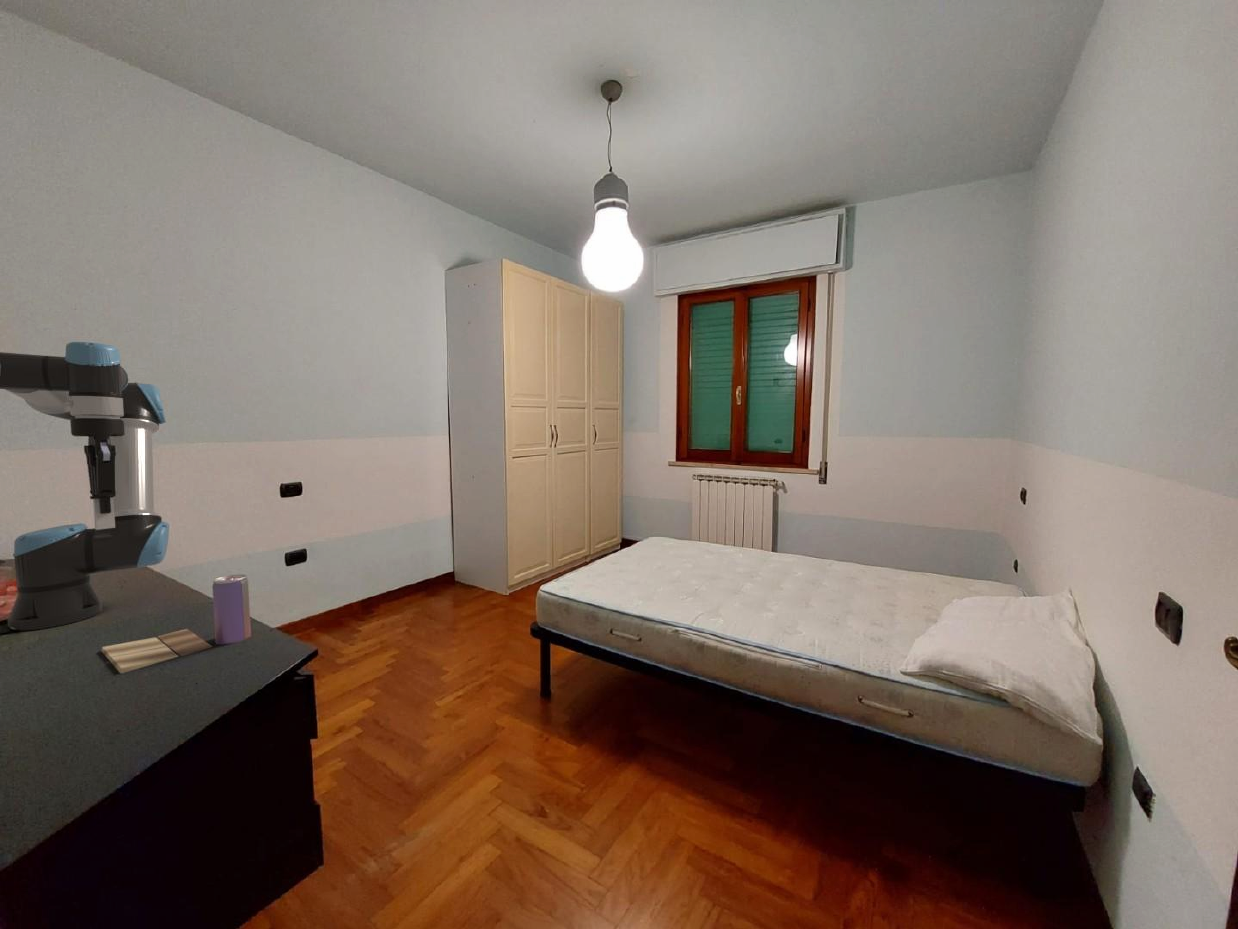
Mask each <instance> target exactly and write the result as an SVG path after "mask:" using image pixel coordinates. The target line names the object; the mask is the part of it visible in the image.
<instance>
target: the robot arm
mask: <svg viewBox="0 0 1238 929" xmlns="http://www.w3.org/2000/svg"><path fill="white" fill-rule="evenodd" d="M121 361H122V359H121V358H120V352H119V349H118V348H117V347H116V346H113V345H110V344H106V343H105V344H104V343H98V342H86V341H72V342H68V343H67V344H66V345H65V356H56V355H55V356H53V355H39V354H27V353H17V352H14V353H13V352H3V351H1V352H0V390H5V391H7V392H9V393H11V394H13V395H15V396H17V397H19V398H21V399H22V400H24V402H25V403H26V404H27V405H28V406H29V407H31V408H32V409H33V410H35V411H37V412H39V413H41V414H45V415H48V416H52V417H55V418H59V419H64V420H67V421H68V420H69V421H70V422H69V423H70V434H71V435H72V436H73V437H88V438H87V439H88V441H87V444H88V445H86V444H85V445H83V449H84V450H83V452H84V454H85V458H86V465H87V473H88V480H89V482H88V483H89V489H90V490H89V493H90V495H91V496H89V499H90V500H92V503H93V504H92V505H93V506H92V507H93V516H94V517H93V518H94V519H93V520H94V528H88V526H87V525H86V523H75V524H72V523H71V524H66V525H59V526H55V527H49V528H43V529H38V530H33V531H30V532H27V533H23V534H21V535H19V536H18V537H16V538H15V540H14V542H13V543H14V544H13V545H14V546H13V552H14V553H13V554H12V556H13V557H14V566H15V579H16V580H15V581H16V588H17V596H16V598H15V601H14V603H13V606H12V608H11V611H10V613H9V615H8V618H7V627H8V626H10V627H13V628H15V629H16V630H20V632H23V631H33V630H42V629H47V628H48V629H49V628H54V627H58V626H64V625H67V624H71V623H76V622H79V621H83V620H86V619H89V618H92V617H94V616H97V615H99V614H100V613H101V612H103V603H102V600H101V598H100V597H99V595H98V593H97V591H96V590H95V589H94V587H93V586H92V584H91V574H97V573H105V572H113V571H120V570H121V571H122V570H127V569H135V568H136V569H140V568H144V567H148V566H149V567H150V566H156V565H159V564H160V563H162V562H163V561H164V559H165V557H166V555H167V550H168V545H169V544H168V543H169V535H170V524H169V523H168V521H162V520H163V519H162V517H163V516H162V515H160V514H158V513H156V512H155V508H154V507H155V503H154V502H155V501H154V474H153V473H154V464H153V463H154V462H153V457H154V456H153V434H154V433H156V432H158V431H159V429H160V425H162V424H165V423H166V422H167V420H166V415H165V412H164V406H163V403H162V399H161V394H160V389H159V388H158V387H157V385H154V384H150V383H140V382H135V381H134V382H129V377H128V376H129V375H128V373H127V370H125V368H124V367H123V366H121Z"/></svg>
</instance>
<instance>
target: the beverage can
mask: <svg viewBox="0 0 1238 929" xmlns="http://www.w3.org/2000/svg"><path fill="white" fill-rule="evenodd" d="M249 594H250V591H249V580H248V575H246V574H238V573H237V574H229V575H225V576H221V577H218V578H217V577H216V578H215V579H214V580H213V584H212V599H213V600H212V601H213V602H212V603H213V616H214V617H213V618H214V620H213V621H214V622H213V623H214V634H215V636H214V637H215V644H217V645H228V644H234V643H238V642H239V643H240V642H242V641H245V640H246V639H248V638H250V637H251V636H252V634H251V633H252V632H251V614H250V613H251V612H250V610H251V609H250V595H249Z"/></svg>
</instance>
